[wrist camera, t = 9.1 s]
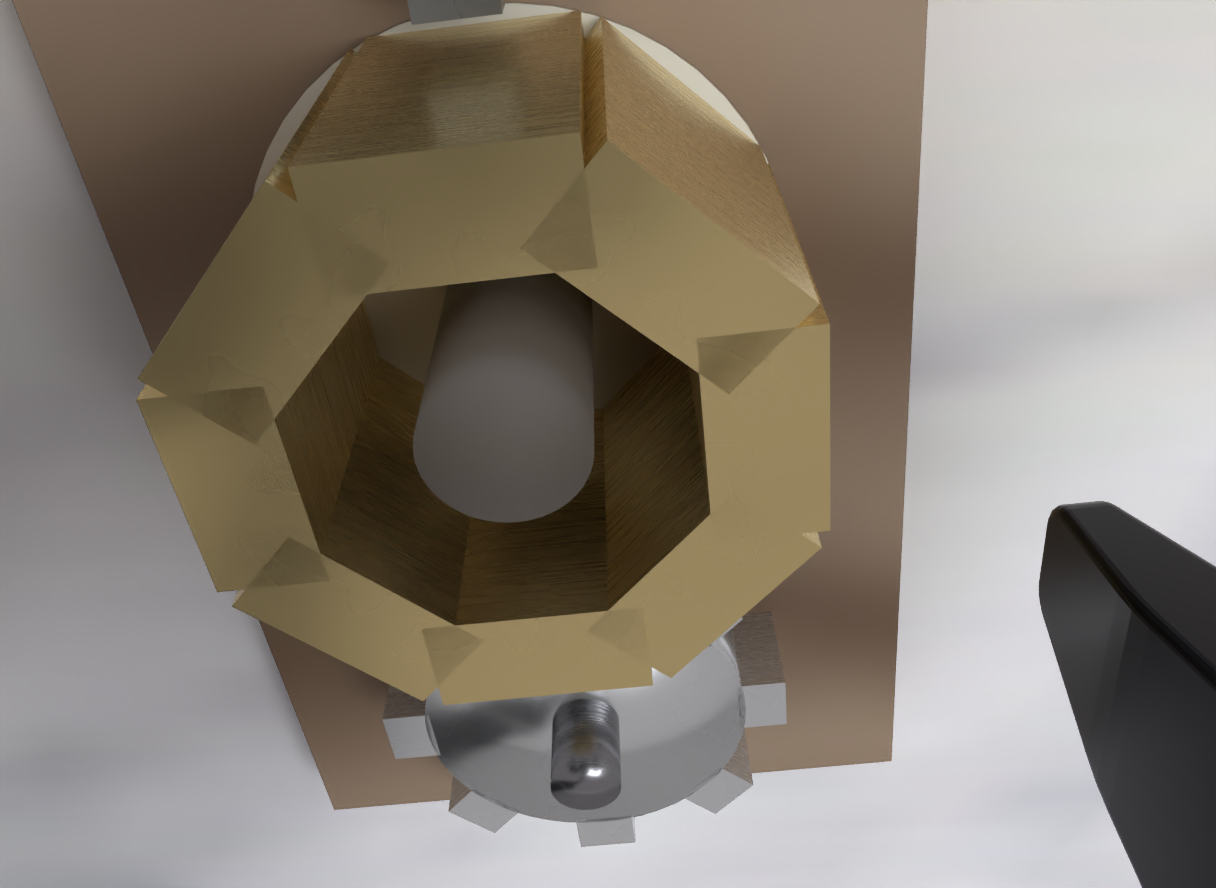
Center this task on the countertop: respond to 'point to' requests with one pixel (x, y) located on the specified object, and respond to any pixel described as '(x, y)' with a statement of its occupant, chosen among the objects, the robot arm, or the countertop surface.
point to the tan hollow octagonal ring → (390, 399)
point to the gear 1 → (452, 9)
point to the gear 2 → (604, 741)
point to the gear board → (854, 246)
